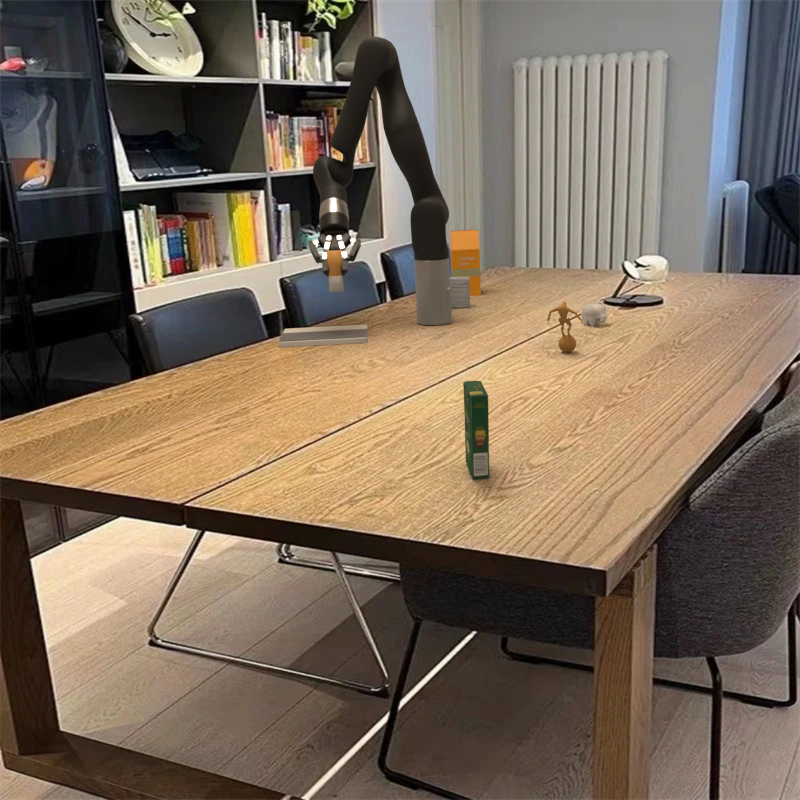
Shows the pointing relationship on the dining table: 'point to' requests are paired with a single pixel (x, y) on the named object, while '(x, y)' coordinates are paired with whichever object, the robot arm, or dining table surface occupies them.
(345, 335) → the board
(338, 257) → the orange and grey block
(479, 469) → the coffee box
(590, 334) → the dining table surface
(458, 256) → the orange juice
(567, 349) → the figurine
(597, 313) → the elephant figurine
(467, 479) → the dining table surface
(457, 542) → the dining table surface
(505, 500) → the dining table surface
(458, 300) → the medicine box
